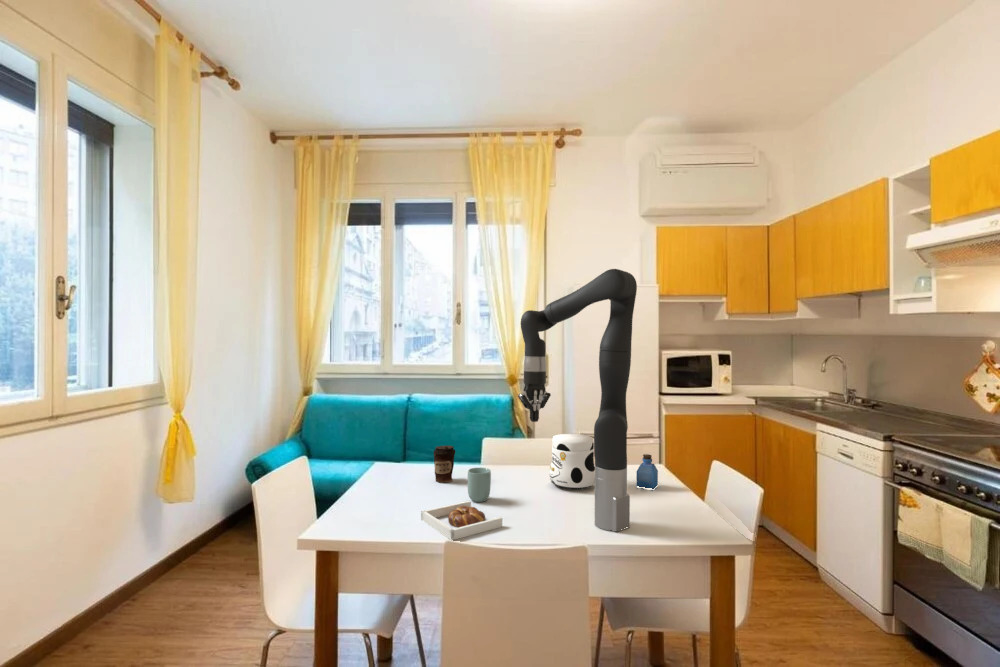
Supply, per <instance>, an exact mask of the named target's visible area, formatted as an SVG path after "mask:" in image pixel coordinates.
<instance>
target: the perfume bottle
mask: <svg viewBox="0 0 1000 667" xmlns="http://www.w3.org/2000/svg"><path fill="white" fill-rule="evenodd" d="M642 456H643V457H642V459H641V460H642V463H640V464H639V466H638V468H637V470H636V485H635V486H639V487H645V488H652V489H654V488H655V487H656V486H657V485H659V484H658V483H659V479H658V478H659V471H658V468H657V467H656V464H655V463H653V458H652V456H653V455H652V454H648V453H647V454H645V453H644V454H643V455H642Z"/></svg>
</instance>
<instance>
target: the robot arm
mask: <svg viewBox="0 0 1000 667" xmlns="http://www.w3.org/2000/svg"><path fill="white" fill-rule="evenodd" d="M637 284H638V283H637V279H636V278H635V276H634V275H633V274H632V273H630V272H627V271H624V270H622V269H618V268H611V269H610V268H609V269H607V270H605V271H603V272H602V273H601V274H599V275H598V276H596V277H595V278H594V279H592V280H591V281H589V282H588V283H586V284H584V285H583V286H581V287H580V288H578V289H576V290H574V291H572V292H570V293H568V294H567V295H564V296H562V297H560V298H558V299H555V300H554V301H551V302H549V303H548V304H547V305H545V308H544V309H542V310H533V309H532V310H527V311H525V312H523V314H522V316H521V318H520V329H521V333H522V339H523V342H524V360H523V384H524V386H523V392H522V393H519V394H518V395H517V397H518V399H519V400H520V402H521V403H522V406H523V407H524V409H526V410H528V411H529V420H530V422H533V423H537V422H538V421H539V419H540V417H539V416H540V410H541V409H544V408H545V406H546V404H547V403H548V401H549V399H550V397H551V396H552V395H551V393H550V392H548V391H546V389H547V388H546V386H545V384H547V360H546V353H547V352H546V348H547V347H546V341H545V340H544V339H542V338H541V336H540V332H545V331H548V330H549V329H551V328H553V327H555V326H556V325H557V324H558V323H562V322H563V321H566V320H568V319H571V318H572V317H574V316H576V315H578V314H579V313H580V312H581V311H583V310H584V309H586V308H587V307H588V306H590V305H594V304H595V303H599V302H602V301H607V300H609V301H610V305H609V307H610V309H609V310H610V312H609V313H610V314H609V319H608V322H607V325H606V327H605V331H604V332H603V334H602V337H601V340H600V344H599V352H598V353H599V355H598V372H599V381H600V382H599V383H600V389H601V390H600V391H601V394H600V396H601V397H600V404H599V405H600V407H599V412H598V417H597V419H596V420H595V423H594V426H593V427H594V428H593V443H594V466H595V483H594V525H595V526H596V527H597V528H598V529H601V530H605V531H610V530H612V532H614V531H618V532H620V531H619V530H621V529H624V528H626V527H629V526H630V525H631V524H630V523H631V522H630V520H631V519H630V518H631V514H630V513H631V511H630V510H631V508H630V507H631V505H630V502H631V496H630V493H629V494H628V492H627V491H628V455H627V454H628V449H627V448H628V447H627V444H628V440H627V439H628V438H627V437H628V435H627V434H628V430H629V429H628V428H629V427H628V416H627V415H628V414H627V390H628V387H629V385H628V384H629V380H630V372H631V365H632V364H631V363H632V360H631V359H632V337H633V320H634V318H633V317H634V311H635V305H636V304H635V303H636V297H637V289H638V285H637ZM629 528H630V527H629ZM624 530H625V529H624ZM621 531H622V530H621Z"/></svg>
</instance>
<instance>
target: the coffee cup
mask: <svg viewBox="0 0 1000 667" xmlns="http://www.w3.org/2000/svg"><path fill="white" fill-rule="evenodd" d="M455 455H456V449H455V448H454V446H453V445H439V446H436V447H435V449H434V450H433V463H434V475H435V482H438V483H450V482H453V478H452V476H453V470H454V465H455V460H454V459H455Z"/></svg>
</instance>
